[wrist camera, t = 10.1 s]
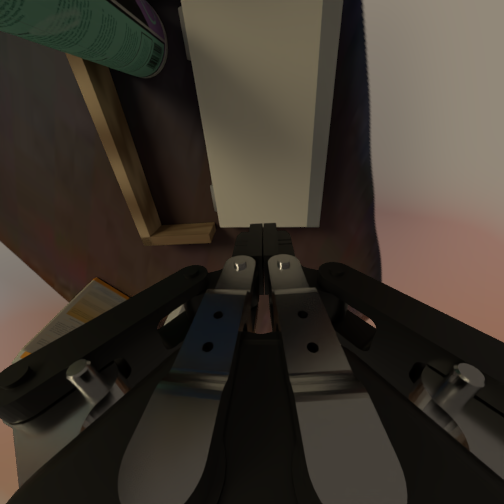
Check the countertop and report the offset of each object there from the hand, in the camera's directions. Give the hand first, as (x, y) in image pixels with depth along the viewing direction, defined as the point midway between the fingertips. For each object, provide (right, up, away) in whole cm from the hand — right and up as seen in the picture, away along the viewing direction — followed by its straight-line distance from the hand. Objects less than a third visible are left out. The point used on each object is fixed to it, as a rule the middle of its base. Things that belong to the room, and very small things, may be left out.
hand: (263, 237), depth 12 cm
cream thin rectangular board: (-5, +12, +9) cm, 16 cm away
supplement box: (-25, -9, +25) cm, 37 cm away
